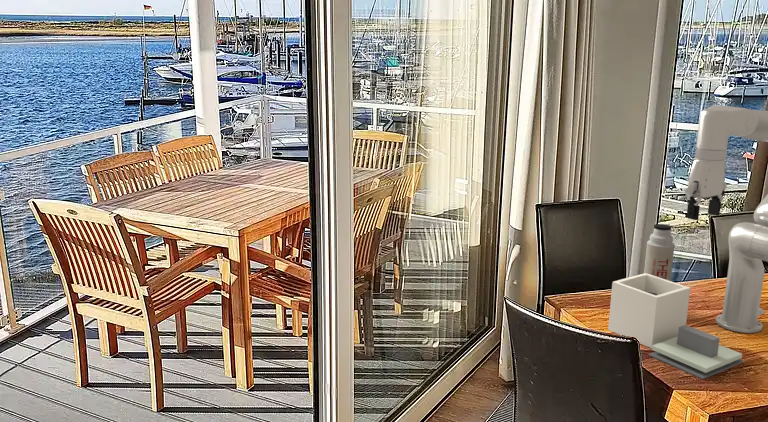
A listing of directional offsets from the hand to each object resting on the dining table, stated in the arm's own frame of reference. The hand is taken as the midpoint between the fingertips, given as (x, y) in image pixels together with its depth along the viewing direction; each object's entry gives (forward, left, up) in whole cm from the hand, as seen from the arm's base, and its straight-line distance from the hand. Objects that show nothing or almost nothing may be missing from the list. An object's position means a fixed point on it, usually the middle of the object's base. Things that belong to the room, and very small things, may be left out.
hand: (703, 216), depth 189 cm
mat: (+10, +9, -36) cm, 39 cm away
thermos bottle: (-10, -19, -36) cm, 42 cm away
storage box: (+7, -9, -36) cm, 38 cm away
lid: (+10, +9, -35) cm, 37 cm away
